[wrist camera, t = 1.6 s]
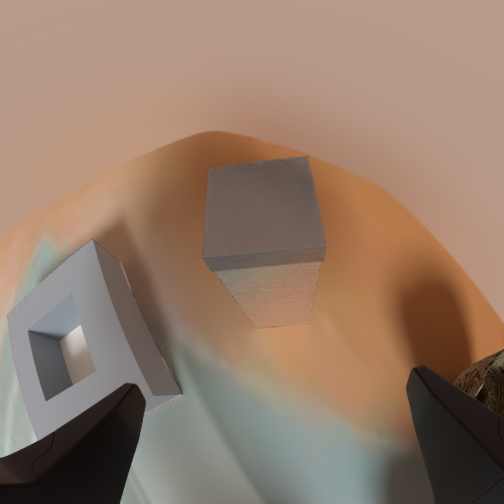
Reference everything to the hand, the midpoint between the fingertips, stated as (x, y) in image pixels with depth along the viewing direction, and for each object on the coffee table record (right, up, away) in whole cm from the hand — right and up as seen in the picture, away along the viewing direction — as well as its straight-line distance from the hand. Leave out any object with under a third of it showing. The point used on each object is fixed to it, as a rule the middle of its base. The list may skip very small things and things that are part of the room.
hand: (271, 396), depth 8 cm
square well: (-16, -6, +14) cm, 21 cm away
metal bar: (+2, +1, +14) cm, 14 cm away
